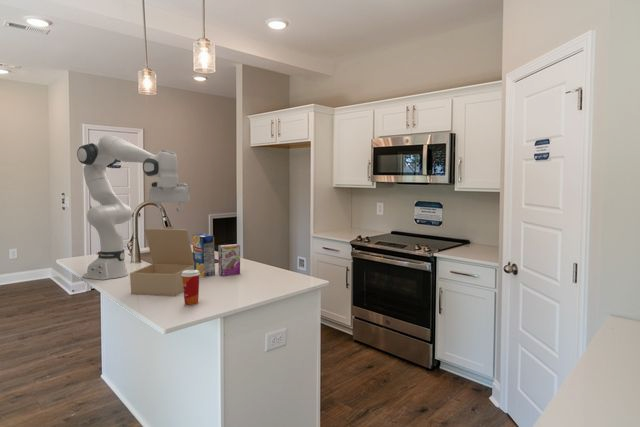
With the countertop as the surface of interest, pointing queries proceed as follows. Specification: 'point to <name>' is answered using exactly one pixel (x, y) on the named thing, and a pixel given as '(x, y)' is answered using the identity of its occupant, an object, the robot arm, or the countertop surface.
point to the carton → (158, 279)
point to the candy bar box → (229, 259)
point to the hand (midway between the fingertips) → (169, 211)
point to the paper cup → (191, 286)
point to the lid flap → (169, 246)
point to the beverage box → (204, 254)
